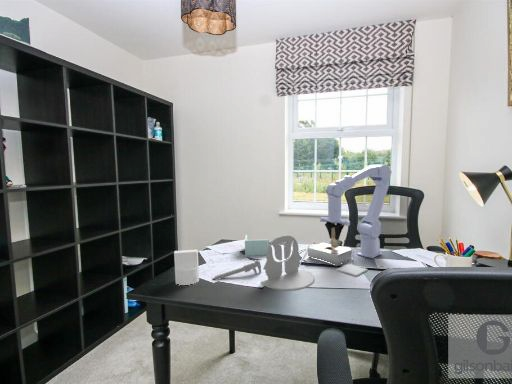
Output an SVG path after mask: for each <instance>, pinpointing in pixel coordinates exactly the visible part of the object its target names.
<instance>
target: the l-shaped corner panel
mask: <svg viewBox="0 0 512 384" xmlns="http://www.w3.org/2000/svg"><path fill="white" fill-rule="evenodd" d="M244 235H245V237H244V256H266V253H267V249H268V246H269V244H270V240H269V239H248V234H244Z"/></svg>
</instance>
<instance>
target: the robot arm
mask: <svg viewBox="0 0 512 384" xmlns="http://www.w3.org/2000/svg"><path fill="white" fill-rule="evenodd" d="M392 173H393V172H392V170H391V168H390V166H389V165H388V164H385V163H384V164H369V165H368V166H365V167H364V168H363V169H361V170H360V171H358V172H357V173H355V174H353V175H352V176H350V175H344V176H343V177H342V179H341V178H340V179H339V180H336V181H335V182H334V183H329V184H328V186H326V188H325V194H326V195H327V199H328V200H327V201H328V202H327V203H328V204H327V205H328V206H327V208H328V209H327V210H328V211H327V213H328V214H327V215H328V216H327V217H325V216H320V218H319V221H320V222H323V223H325V224H324V227H325V228H326V230H327V233H328V236H329V239H330V240H331V228H333V227H334V228H335V240H338V239H339V240H340V237H341V234H342V232H343V231H342V230H343V229H344V228H345V226H346V227H348V226H351V221H350V220H348V219H347V220H346V219H344V218H343V219H342V196H343V195H344V194H345V192H347V191H348V190H350V189H352V188H353V187H355V186H356V183H358V182H360V181H362V180H365V179H366V178H369V179H370V180H372V181H373V182H374V184H375V188H374V191H373V195H372V197H371V199H370V200H371V201H370V204H369V207H368V210H367V212H366V215H365V216H364V217H362V218H361V221H360V222H359V223H358V225H357V231H358V233H359V236H360V252H359V251H358V252H357V253H356V255H358V256H361V257H362V256H363V257H366V258H371V259H373V258H376V257H378V256H380V255H382V252H380V251H381V249H380V248H381V243H380V242H381V240H380V238H379V237H380V235H381V231H382V229H381V228H382V227H381V226H382V223H381V221H380V220H379V218H380V215H381V212H382V208H383V206H384V202H385V199H386V196H387V193H388V190H389V187H390V178H391V175H392Z"/></svg>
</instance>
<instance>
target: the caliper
mask: <svg viewBox="0 0 512 384" xmlns="http://www.w3.org/2000/svg"><path fill="white" fill-rule="evenodd" d="M253 261H254V262H251V263H249V264H245V265H243V266H241V267H239V268H236V269H232V270H230V271H227V272H226V271H225V272H224V273H220V274H217V275H215V276H214V277H212V278H211V280H212V279H218V280H220V279H219V278H222V279H224V278H227V277H230V276H234V275H237V274H239V273H243V272H245V273H248V272H251V270H252V271H253V272H254V274H255V273H256V274H258V273H257V269H258V272H259V274H261V273H262V265H261V262H260V260H258V258H257V259H256V260H255V259H254V260H253ZM256 274H255V275H256Z"/></svg>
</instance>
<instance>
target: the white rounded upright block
mask: <svg viewBox="0 0 512 384" xmlns="http://www.w3.org/2000/svg"><path fill="white" fill-rule="evenodd" d="M173 256H174V258H173V259H174V274H175V275H174V277H175V278H174V279H175V280H174V281H175V285H177V284H179V285H178V286H180V285H189V286H191V285H190V284H193V285H195V284H197V283H199V281H200V273H199V272H200V270H199V268H200V267H199V250H198V249H186V250H185V249H184V250H182V249H181V250H174V252H173ZM196 282H197V283H196ZM194 283H195V284H194Z"/></svg>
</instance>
